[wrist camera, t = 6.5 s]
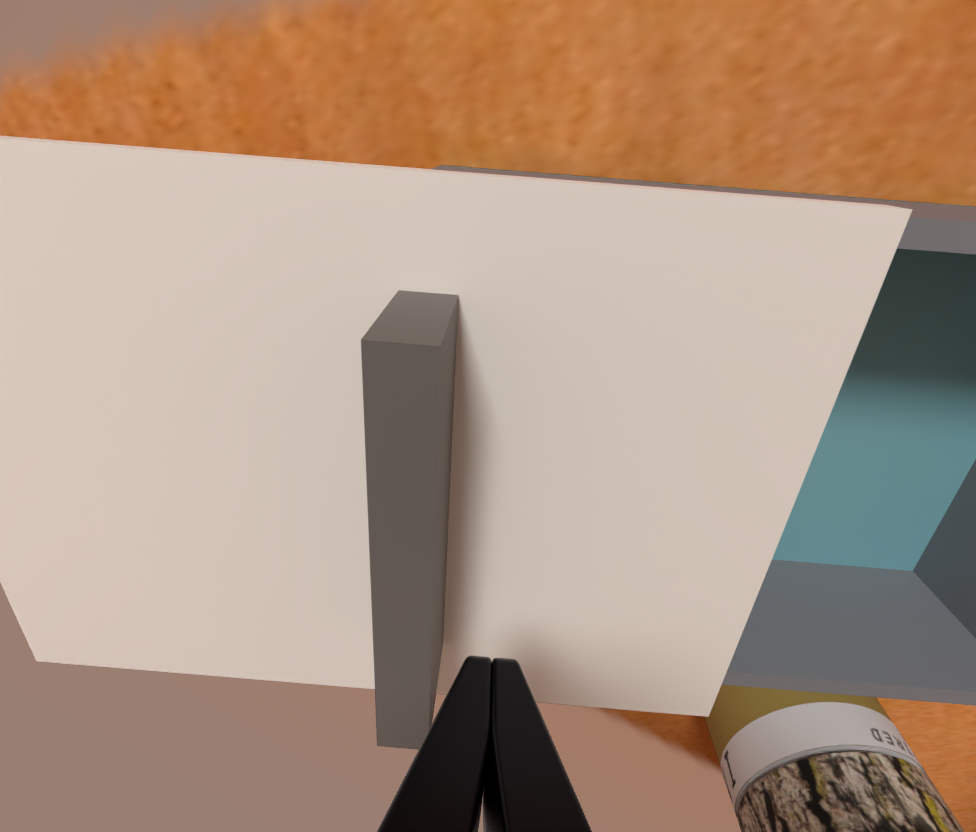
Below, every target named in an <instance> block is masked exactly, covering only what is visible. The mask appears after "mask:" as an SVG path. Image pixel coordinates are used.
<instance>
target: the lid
mask: <svg viewBox="0 0 976 832" xmlns="http://www.w3.org/2000/svg"><path fill="white" fill-rule="evenodd" d="M911 212H912V209H907V208H901V207H895V206H890V205H882V204H869V203H856V202H843V201H831V200H818V199H805V198H792V197H779V196H766V195H754V194H741V193H728V192H715V191H702V190H689V189H677V188H664V187H651V186H638V185H625V184H612V183H600V182H587V181H574V180H561V179H548V178H535V177H523V176H510V175H497V174H484V173H471V172H458V171H446V170H433V169H420V168H407V167H394V166H381V165H369V164H356V163H343V162H330V161H317V160H304V159H292V158H279V157H266V156H253V155H240V154H227V153H215V152H202V151H189V150H176V149H163V148H150V147H138V146H125V145H112V144H99V143H86V142H73V141H61V140H48V139H35V138H22V137H9V136H0V582H1V585H2V587H3V589H4V591H5V593H6V595H7V598H8V600H9V602H10V604H11V606H12V608H13V611H14V613H15V615H16V617H17V620H18V621H19V624H20V626H21V628H22V630H23V633H24V635H25V637H26V639H27V641H28V644H29V646H30V648H31V650H32V652H33V654H34V657H35V659H36V661H42V662H55V663H66V664H78V665H91V666H102V667H115V668H126V669H139V670H151V671H163V672H175V673H187V674H199V675H212V676H223V677H236V678H248V679H260V680H272V681H283V682H295V683H307V684H308V683H309V684H319V685H331V686H344V687H357V688H368V689H375V703H376V728H377V746H385V747H397V748H408V749H420V747H421V745H422V743H423V741H424V739H425V737H426V735H427V733H428V731H429V729H430V727H431V725H432V719H433V712H434V704H435V698H436V694H441V695H447V694H448V692H449V690H450V688H451V686H452V684H453V682H454V680H455V678H456V676H457V674H458V672H459V670H460V668H461V666H462V664H463V662H464V661H465V659H466V658H467V657H468V656H484V657H489V658H490V659H491V661H492V660H493V659H494V658H509V659H515V660H517V661H518V663H519V664H520V667H521V669H522V671H523V673H524V676H525V678H526V680H527V683H528V685H529V687H530V690H531V692H532V694H533V697H534V699H535V701H536V702H537V703H549V704H561V705H573V706H585V707H597V708H609V709H621V710H633V711H645V712H657V713H670V714H682V715H694V716H706V717H709V714H710V712H711V709H712V707H713V704H714V702H715V699H716V697H717V695H718V692H719V690H720V687H721V685H722V682H723V680H724V677H725V675H726V672H727V670H728V667H729V665H730V662H731V660H732V657H733V655H734V652H735V650H736V647H737V645H738V642H739V640H740V637H741V635H742V632H743V630H744V627H745V625H746V622H747V620H748V617H749V615H750V612H751V610H752V607H753V605H754V603H755V600H756V598H757V595H758V593H759V590H760V588H761V585H762V583H763V580H764V578H765V575H766V573H767V570H768V568H769V565H770V563H771V560H772V558H773V555H774V553H775V550H776V548H777V545H778V543H779V540H780V538H781V535H782V533H783V530H784V528H785V525H786V523H787V520H788V518H789V515H790V513H791V510H792V508H793V506H794V503H795V501H796V498H797V496H798V493H799V491H800V488H801V486H802V483H803V481H804V478H805V476H806V473H807V471H808V468H809V466H810V463H811V461H812V458H813V456H814V453H815V451H816V448H817V446H818V443H819V441H820V438H821V436H822V433H823V431H824V428H825V426H826V423H827V421H828V418H829V416H830V413H831V411H832V409H833V406H834V404H835V401H836V399H837V396H838V394H839V391H840V389H841V386H842V384H843V381H844V379H845V376H846V374H847V371H848V369H849V366H850V364H851V361H852V359H853V356H854V354H855V351H856V349H857V346H858V344H859V341H860V339H861V336H862V334H863V331H864V329H865V326H866V324H867V321H868V319H869V316H870V314H871V312H872V309H873V307H874V304H875V302H876V299H877V297H878V294H879V292H880V289H881V287H882V284H883V282H884V279H885V277H886V274H887V272H888V269H889V267H890V264H891V262H892V259H893V257H894V254H895V252H896V249H897V247H898V244H899V242H900V239H901V237H902V234H903V232H904V229H905V227H906V224H907V222H908V220H909V217H910V215H911Z"/></svg>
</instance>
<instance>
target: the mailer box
mask: <svg viewBox="0 0 976 832" xmlns="http://www.w3.org/2000/svg"><path fill="white" fill-rule="evenodd" d="M432 169H433V170H446V171H458V172H471V173H484V174H497V175H510V176H523V177H535V178H548V179H561V180H574V181H587V182H600V183H612V184H625V185H638V186H651V187H664V188H677V189H689V190H702V191H715V192H728V193H741V194H754V195H766V196H779V197H792V198H805V199H818V200H831V201H843V202H856V203H869V204H882V205H890V206H895V207H901V208H907V209H912V212H911V215H910V217H909V220H908V222H907V224H906V227H905V229H904V232H903V234H902V237H901V239H900V242H899V244H898V247H897V249H896V252H895V254H894V257H893V259H892V262H891V264H890V267H889V269H888V272H887V274H886V277H885V279H884V282H883V284H882V287H881V289H880V292H879V294H878V297H877V299H876V302H875V304H874V307H873V309H872V312H871V314H870V316H869V319H868V321H867V324H866V326H865V329H864V331H863V334H862V336H861V339H860V341H859V344H858V346H857V349H856V351H855V354H854V356H853V359H852V361H851V364H850V366H849V369H848V371H847V374H846V376H845V379H844V381H843V384H842V386H841V389H840V391H839V394H838V396H837V399H836V401H835V404H834V406H833V409H832V411H831V413H830V416H829V418H828V421H827V423H826V426H825V428H824V431H823V433H822V436H821V438H820V441H819V443H818V446H817V448H816V451H815V453H814V456H813V458H812V461H811V463H810V466H809V468H808V471H807V473H806V476H805V478H804V481H803V483H802V486H801V488H800V491H799V493H798V496H797V498H796V501H795V503H794V506H793V508H792V510H791V513H790V515H789V518H788V520H787V523H786V525H785V528H784V530H783V533H782V535H781V538H780V540H779V543H778V545H777V548H776V550H775V553H774V555H773V558H772V560H771V563H770V565H769V568H768V570H767V573H766V575H765V578H764V580H763V583H762V585H761V588H760V590H759V593H758V595H757V598H756V600H755V603H754V605H753V607H752V610H751V612H750V615H749V617H748V620H747V622H746V625H745V627H744V630H743V632H742V635H741V637H740V640H739V642H738V645H737V647H736V650H735V652H734V655H733V657H732V660H731V662H730V665H729V667H728V670H727V672H726V675H725V677H724V680H723V682H722V685H734V686H746V687H758V688H770V689H782V690H795V691H807V692H819V693H831V694H843V695H855V696H867V697H879V698H892V699H904V700H916V701H928V702H940V703H952V704H964V705H976V207H972V206H959V205H946V204H933V203H920V202H908V201H895V200H882V199H869V198H856V197H843V196H831V195H818V194H805V193H792V192H779V191H766V190H754V189H741V188H728V187H715V186H702V185H689V184H676V183H664V182H651V181H638V180H625V179H612V178H599V177H587V176H574V175H561V174H548V173H535V172H522V171H510V170H497V169H484V168H471V167H458V166H445V165H441V166H438V167H435V168H432Z"/></svg>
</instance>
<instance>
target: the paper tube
mask: <svg viewBox="0 0 976 832" xmlns="http://www.w3.org/2000/svg"><path fill="white" fill-rule="evenodd" d="M704 718H705V721H706V724H707V727H708V730H709V733H710V736H711V739H712V742H713V745H714V748H715V751H716V754H717V757H718V760H719V763H720V766H721V770H722V774H723V777H724V780H725V783H726V786H727V789H728V792H729V795H730V798H731V801H732V804H733V807H734V810H735V813H736V816H737V818H738V822H739V825H740V828H741V831H742V832H964V830H963V829H962V827H961V826H960V824H959V823H958V821H957V819H956V818H955V816H954V815H953V813H952V812H951V810H950V809H949V807H948V806H947V804H946V803H945V801H944V800H943V798H942V796H941V795H940V793H939V792H938V790H937V789H936V787H935V786H934V784H933V783H932V781H931V780H930V778H929V777H928V775H927V774H926V772H925V770H924V769H923V767H922V766H921V764H920V763H919V761H918V760H917V758H916V757H915V755H914V754H913V752H912V751H911V749H910V747H909V746H908V744H907V743H906V741H905V740H904V738H903V737H902V735H901V734H900V732H899V731H898V729H897V728H896V726H895V725H894V724H893V723H892V721H891V720H890V718H889V717H888V715H887V713H886V712H885V710H884V709H883V707H882V706H881V704H880V703H879V701H878V700H877V698H876V697H867V696H855V695H843V694H831V693H819V692H807V691H795V690H782V689H770V688H758V687H746V686H734V685H721V687H720V690H719V692H718V695H717V697H716V699H715V702H714V704H713V707H712V709H711V712H710V714H709V717H706V716H704Z"/></svg>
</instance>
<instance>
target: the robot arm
mask: <svg viewBox="0 0 976 832" xmlns="http://www.w3.org/2000/svg"><path fill="white" fill-rule="evenodd" d="M482 797H483V828H484V832H592V831H591V829H590V827H589V824H588V822H587V820H586V818H585V815H584V813H583V810H582V808H581V806H580V803H579V801H578V799H577V796H576V794H575V792H574V789H573V787H572V785H571V783H570V780H569V778H568V776H567V773H566V771H565V769H564V766H563V764H562V762H561V759H560V757H559V755H558V752H557V750H556V748H555V746H554V743H553V741H552V739H551V736H550V734H549V731H548V729H547V727H546V725H545V722H544V720H543V718H542V715H541V713H540V711H539V708H538V706H537V704H536V701H535V699H534V697H533V694H532V692H531V690H530V687H529V685H528V683H527V680H526V678H525V676H524V673H523V671H522V669H521V667H520V664H519V663H518V661H517V660H515V659H509V658H494V659H493V660H492V661H491V659H490V658H489V657H484V656H468V657H467V658H466V659H465V661H464V662H463V664H462V666H461V668H460V670H459V672H458V674H457V676H456V678H455V680H454V682H453V684H452V686H451V688H450V690H449V692H448V694H447V696H446V698H445V700H444V702H443V704H442V705H441V708H440V709H439V712H438V713H437V715H436V717H435V719H434V721H433V723H432V725H431V727H430V729H429V731H428V733H427V735H426V737H425V739H424V741H423V743H422V745H421V747H420V749H419V750H418V752H417V755H416V757H415V758H414V761H413V762H412V764H411V766H410V768H409V770H408V772H407V774H406V776H405V778H404V780H403V782H402V784H401V786H400V788H399V790H398V792H397V794H396V796H395V797H394V799H393V801H392V803H391V806H390V807H389V809H388V811H387V813H386V815H385V817H384V819H383V821H382V823H381V825H380V827H379V829H378V831H377V832H478V828H479V820H480V814H481V805H482Z"/></svg>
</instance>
